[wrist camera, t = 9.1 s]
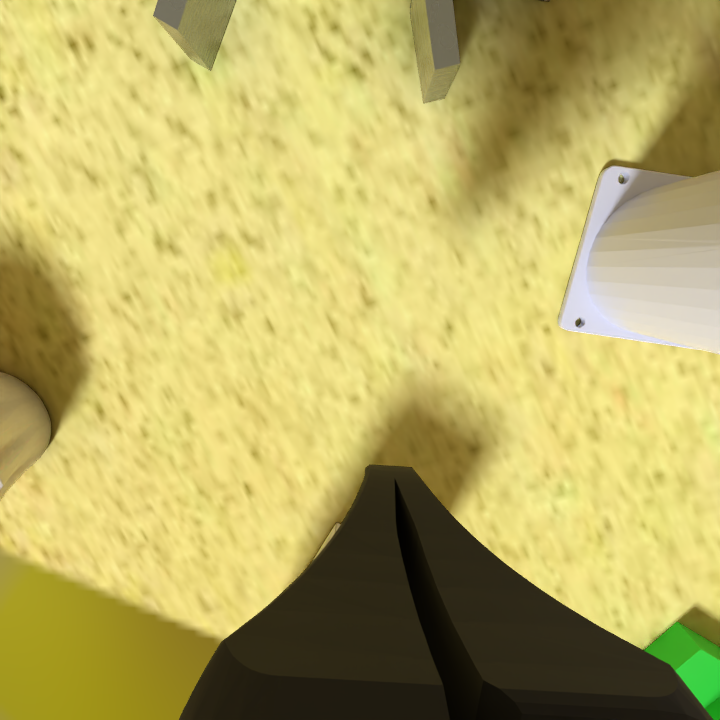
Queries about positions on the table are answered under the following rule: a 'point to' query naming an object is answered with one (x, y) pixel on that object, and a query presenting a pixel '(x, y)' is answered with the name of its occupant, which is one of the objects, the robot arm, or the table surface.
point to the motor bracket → (428, 16)
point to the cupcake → (20, 429)
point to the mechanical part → (692, 663)
